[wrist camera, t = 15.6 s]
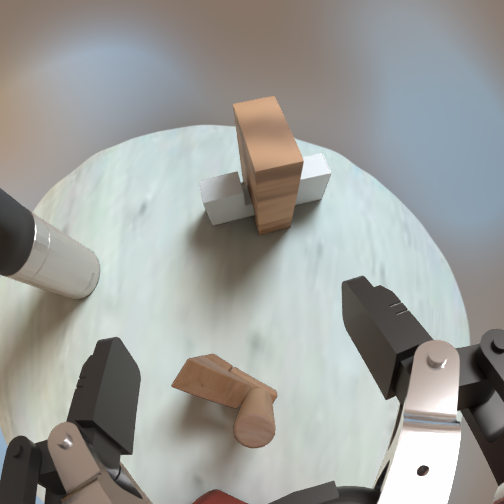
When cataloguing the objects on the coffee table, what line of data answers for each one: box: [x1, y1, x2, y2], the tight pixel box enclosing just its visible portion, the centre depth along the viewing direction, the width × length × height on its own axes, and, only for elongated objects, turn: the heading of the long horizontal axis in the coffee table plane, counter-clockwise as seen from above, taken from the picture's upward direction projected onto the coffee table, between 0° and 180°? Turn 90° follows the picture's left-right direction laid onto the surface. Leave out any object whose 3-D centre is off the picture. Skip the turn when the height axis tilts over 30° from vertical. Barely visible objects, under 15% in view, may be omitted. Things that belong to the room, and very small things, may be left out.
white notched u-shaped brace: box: [199, 153, 331, 226], centre depth 43 cm, size 18×4×8 cm, turn 105°
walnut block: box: [233, 96, 304, 235], centre depth 38 cm, size 10×5×18 cm, turn 15°
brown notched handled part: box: [171, 354, 277, 448], centre depth 31 cm, size 4×11×18 cm, turn 59°
